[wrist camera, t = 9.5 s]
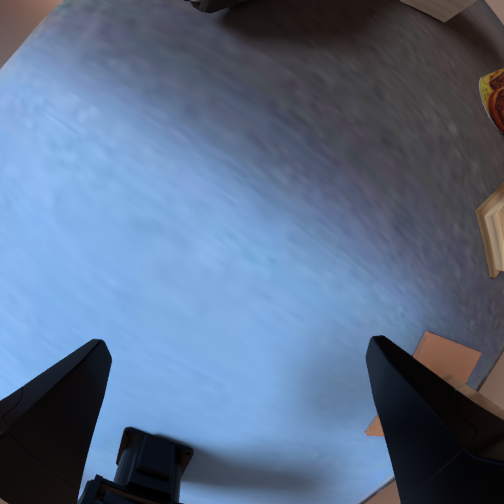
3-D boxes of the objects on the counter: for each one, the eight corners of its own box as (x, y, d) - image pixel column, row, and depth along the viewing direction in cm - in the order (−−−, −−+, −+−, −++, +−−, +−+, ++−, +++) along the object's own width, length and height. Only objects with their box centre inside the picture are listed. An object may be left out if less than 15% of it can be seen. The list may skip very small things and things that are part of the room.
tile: (429, 433, 25) (431, 435, 24) (364, 432, 23) (367, 435, 22) (478, 351, 24) (481, 352, 24) (425, 330, 22) (429, 332, 22)
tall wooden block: (417, 414, 23) (475, 470, 12) (424, 383, 22) (492, 438, 12) (440, 402, 23) (498, 451, 13) (447, 371, 23) (515, 418, 12)
